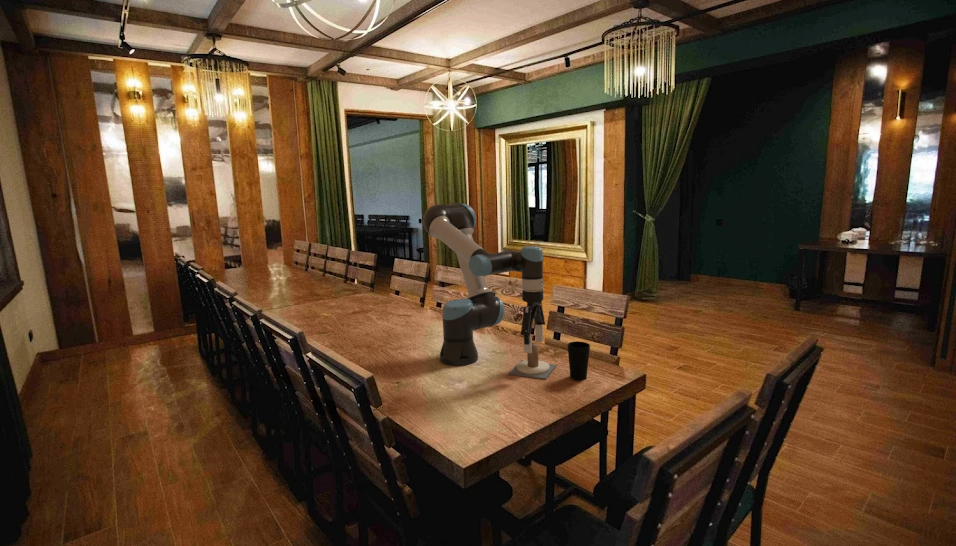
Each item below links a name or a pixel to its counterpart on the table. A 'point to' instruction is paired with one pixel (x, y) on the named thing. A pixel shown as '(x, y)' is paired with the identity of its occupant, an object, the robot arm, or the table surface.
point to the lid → (533, 363)
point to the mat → (540, 376)
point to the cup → (578, 359)
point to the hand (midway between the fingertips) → (533, 347)
